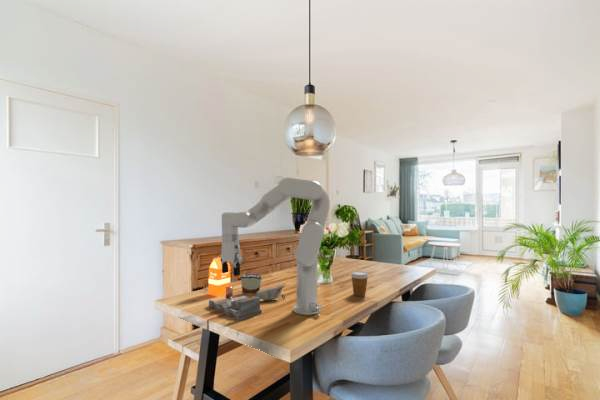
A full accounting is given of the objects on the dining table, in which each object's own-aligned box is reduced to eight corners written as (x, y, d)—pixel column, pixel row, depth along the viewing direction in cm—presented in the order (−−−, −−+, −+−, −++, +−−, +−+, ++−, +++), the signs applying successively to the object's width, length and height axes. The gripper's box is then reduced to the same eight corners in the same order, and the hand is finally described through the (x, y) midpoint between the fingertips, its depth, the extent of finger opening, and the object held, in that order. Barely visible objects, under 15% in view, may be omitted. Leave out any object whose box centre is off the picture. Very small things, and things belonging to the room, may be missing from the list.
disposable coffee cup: (349, 296, 164) (349, 274, 164) (351, 291, 173) (352, 270, 173) (367, 298, 161) (367, 275, 161) (368, 293, 170) (369, 271, 170)
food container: (264, 291, 172) (264, 273, 172) (261, 294, 166) (261, 276, 166) (242, 290, 173) (243, 272, 173) (239, 293, 167) (239, 275, 167)
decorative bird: (253, 301, 155) (253, 286, 155) (283, 297, 162) (283, 283, 162) (256, 304, 150) (256, 289, 150) (286, 300, 157) (286, 285, 157)
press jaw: (247, 305, 142) (247, 288, 142) (231, 310, 136) (231, 292, 136) (235, 300, 149) (235, 284, 149) (218, 305, 143) (219, 288, 143)
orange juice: (230, 292, 168) (230, 256, 169) (217, 296, 161) (218, 259, 161) (220, 290, 173) (221, 255, 173) (208, 294, 166) (208, 257, 166)
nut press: (261, 313, 137) (261, 296, 137) (239, 320, 129) (239, 302, 129) (230, 300, 155) (230, 286, 155) (208, 306, 146) (209, 290, 146)
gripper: (247, 238, 142) (248, 275, 142) (226, 236, 154) (227, 270, 154) (233, 240, 136) (234, 278, 136) (213, 237, 148) (214, 273, 148)
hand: (230, 274), depth 145 cm, fingers open, 9 cm apart
